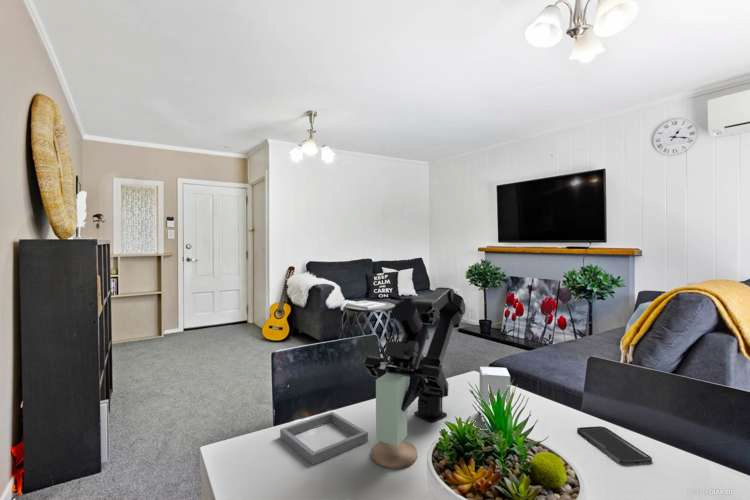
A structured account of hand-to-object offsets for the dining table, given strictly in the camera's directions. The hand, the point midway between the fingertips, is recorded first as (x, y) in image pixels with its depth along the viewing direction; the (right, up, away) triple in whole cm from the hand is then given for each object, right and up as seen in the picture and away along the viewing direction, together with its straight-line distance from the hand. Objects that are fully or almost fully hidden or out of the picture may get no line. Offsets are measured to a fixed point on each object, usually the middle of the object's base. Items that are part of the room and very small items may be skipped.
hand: (391, 407), depth 82 cm
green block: (0, -7, 0) cm, 7 cm away
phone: (+51, -11, +5) cm, 52 cm away
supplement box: (+28, -11, +20) cm, 36 cm away
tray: (-16, -11, +8) cm, 21 cm away
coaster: (+1, -11, +1) cm, 11 cm away
